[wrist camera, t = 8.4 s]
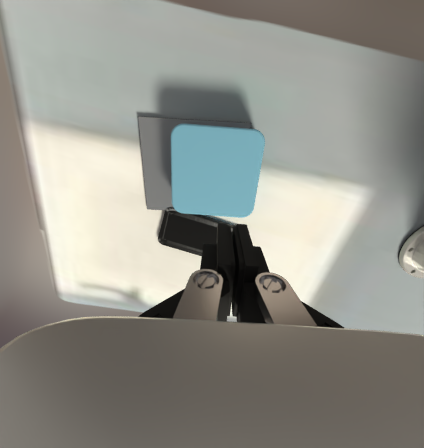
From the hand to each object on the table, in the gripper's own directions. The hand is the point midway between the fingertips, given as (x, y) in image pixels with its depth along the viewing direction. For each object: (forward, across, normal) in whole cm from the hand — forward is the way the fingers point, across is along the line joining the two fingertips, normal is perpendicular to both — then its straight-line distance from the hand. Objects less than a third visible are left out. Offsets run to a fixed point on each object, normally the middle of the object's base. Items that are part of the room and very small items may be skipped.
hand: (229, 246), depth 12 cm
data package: (+19, -5, 0) cm, 20 cm away
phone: (+23, +3, +12) cm, 26 cm away
